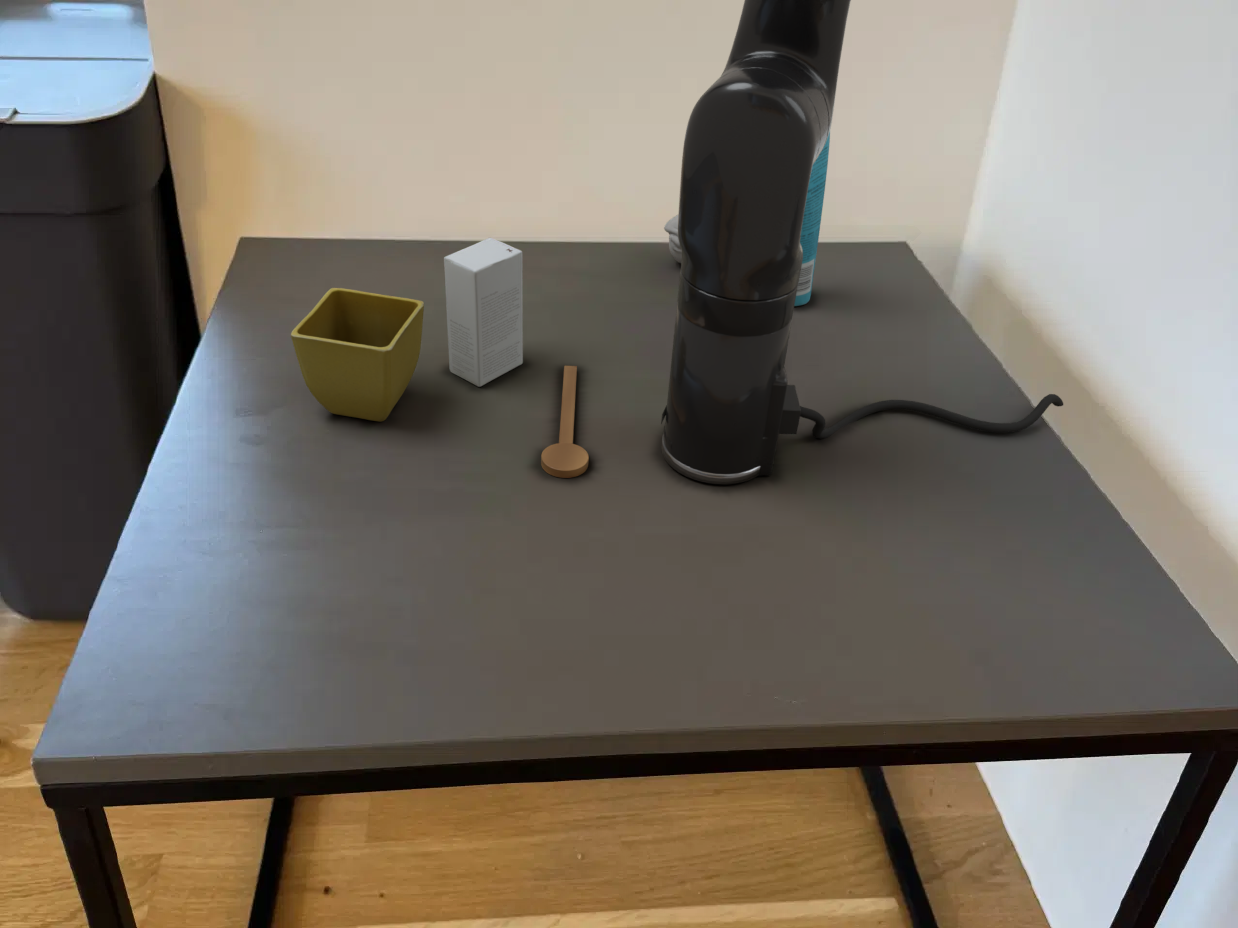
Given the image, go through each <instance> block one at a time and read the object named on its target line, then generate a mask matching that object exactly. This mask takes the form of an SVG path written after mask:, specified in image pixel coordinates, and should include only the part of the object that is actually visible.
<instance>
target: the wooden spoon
mask: <svg viewBox="0 0 1238 928" xmlns="http://www.w3.org/2000/svg"><path fill="white" fill-rule="evenodd" d="M577 373H578V366H577V365H564V366H563V379H562V395H561V408H560V420H559V421H560V423H559V435H558V443H553V444H549V445H548V446H547V447H545V448H544V449H543V450H542V452H541V455H540V465H541V468H542V470H543V471H545V473H546V474H548V475H550V476H553V477H555V478H561V479H562V478H563V479H570V478H576V477H578V476H581V475H582V474H584V473H586V471H587V469H588V467H589V461H590V460H589V457H590V456H589V453H588V451H586V449H585V448H583V447H582V446H580V445H578V444H575V443H574V431H575V429H574V428H575V414H576V413H575V412H576V392H577V391H576V390H577Z"/></svg>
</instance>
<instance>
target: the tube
mask: <svg viewBox="0 0 1238 928" xmlns="http://www.w3.org/2000/svg"><path fill="white" fill-rule="evenodd" d="M830 139H831V131H830V132H829V135H828V138H827V141H826V144H825V146H824V147H823V149H822V151H821V153H820V154H819V156H818V158H817V159H816V161H815V163H814V164H813V166H812V170H811V175H810V181H809V186H808V192H807V198H806V204H805V211H804V217H803V223H802V230H801V237H800V244H801V246H802V250H803V260H802V266H801V272H800V278H799V283H798V287H797V293H796V299H795V305H794V307H800V306H803V305H806V304H807V303H809V302H810V300H811V295H812V289H813V282H814V273H815V268H816V261H817V251H818V244H819V238H820V230H821V223H822V215H823V207H824V199H825V192H826V182H827V173H828V165H829V155H830V142H831V140H830Z"/></svg>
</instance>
